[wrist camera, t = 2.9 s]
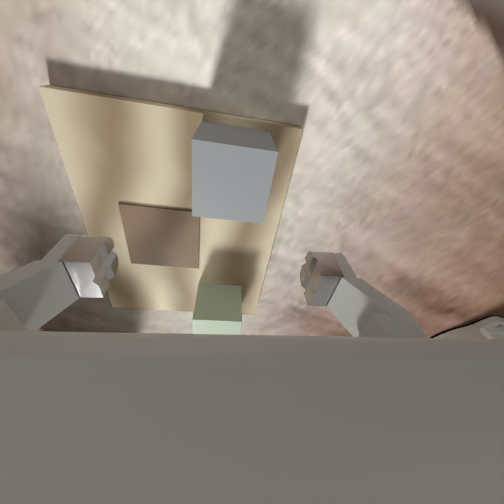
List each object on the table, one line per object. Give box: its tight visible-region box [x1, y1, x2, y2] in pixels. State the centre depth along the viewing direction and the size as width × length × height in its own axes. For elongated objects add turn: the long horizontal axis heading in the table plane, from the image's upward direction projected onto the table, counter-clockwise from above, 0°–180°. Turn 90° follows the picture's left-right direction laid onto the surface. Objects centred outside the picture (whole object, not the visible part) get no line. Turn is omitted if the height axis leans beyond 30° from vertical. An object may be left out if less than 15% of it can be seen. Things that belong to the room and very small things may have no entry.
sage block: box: [192, 283, 242, 335], centre depth 28 cm, size 5×5×5 cm
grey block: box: [192, 121, 278, 224], centre depth 17 cm, size 5×5×5 cm
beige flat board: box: [38, 85, 303, 315], centre depth 24 cm, size 18×23×1 cm
